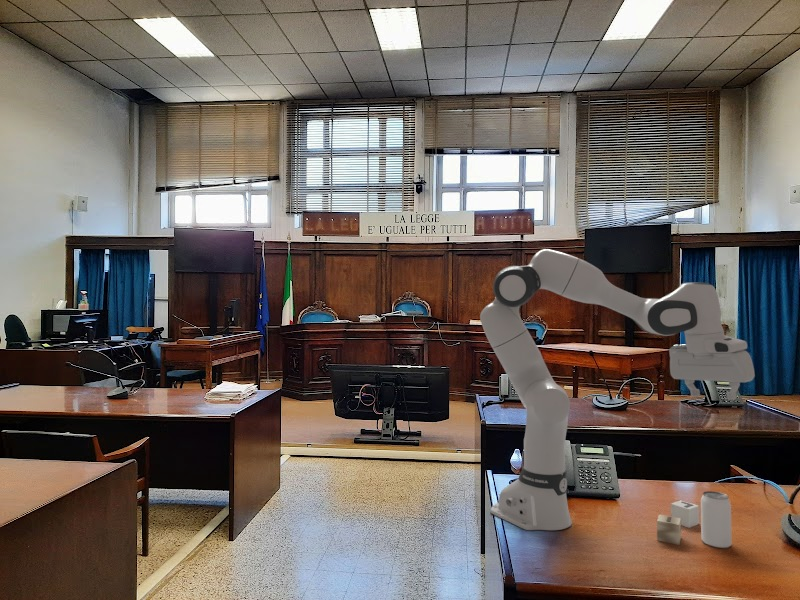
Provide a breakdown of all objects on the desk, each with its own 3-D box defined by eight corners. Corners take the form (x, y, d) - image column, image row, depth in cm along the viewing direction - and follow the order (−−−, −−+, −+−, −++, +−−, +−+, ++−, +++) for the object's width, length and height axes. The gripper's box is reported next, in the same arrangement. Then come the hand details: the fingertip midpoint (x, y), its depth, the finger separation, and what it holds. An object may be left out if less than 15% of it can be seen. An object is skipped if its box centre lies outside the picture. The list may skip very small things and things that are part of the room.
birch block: (657, 540, 134) (656, 520, 134) (659, 533, 138) (659, 513, 139) (679, 545, 132) (679, 524, 132) (681, 537, 136) (680, 517, 136)
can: (735, 550, 129) (735, 500, 129) (706, 547, 130) (706, 498, 130) (725, 538, 135) (724, 491, 135) (697, 536, 136) (697, 489, 137)
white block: (671, 522, 146) (670, 503, 146) (681, 518, 149) (680, 499, 149) (689, 528, 142) (688, 508, 142) (699, 524, 144) (698, 505, 145)
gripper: (661, 346, 144) (668, 396, 143) (738, 345, 126) (747, 403, 125) (675, 343, 147) (683, 392, 146) (753, 341, 129) (762, 398, 128)
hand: (713, 397), depth 136 cm, fingers open, 8 cm apart
